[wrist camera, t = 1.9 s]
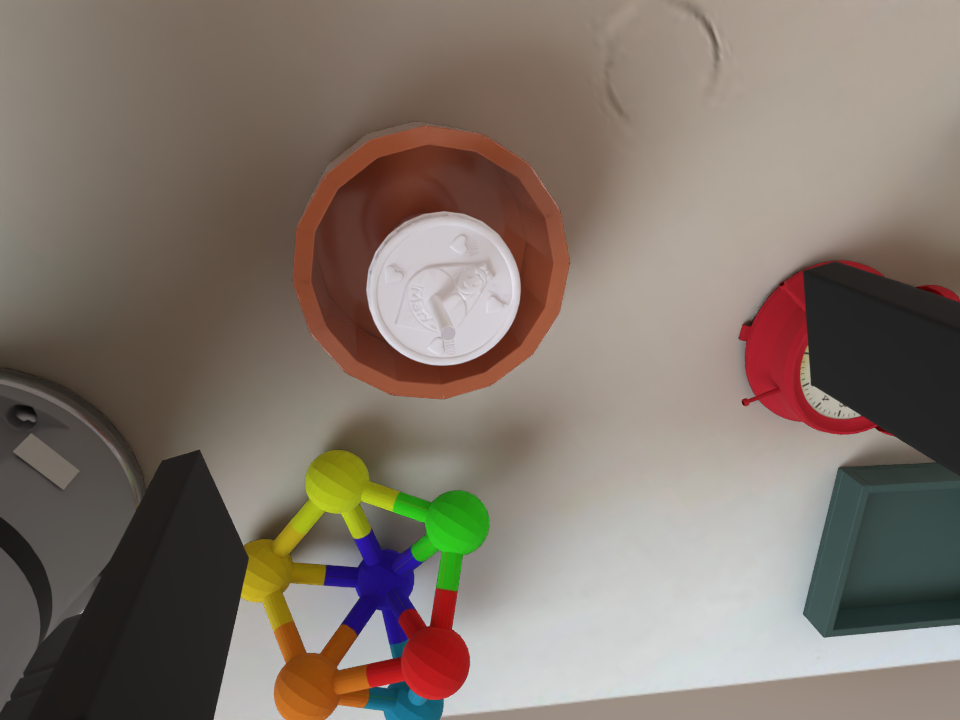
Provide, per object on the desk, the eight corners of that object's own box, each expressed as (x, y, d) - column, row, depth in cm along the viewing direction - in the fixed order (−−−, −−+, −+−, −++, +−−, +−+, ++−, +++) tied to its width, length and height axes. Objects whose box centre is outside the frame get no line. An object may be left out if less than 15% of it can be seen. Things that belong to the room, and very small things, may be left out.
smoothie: (338, 226, 37) (332, 296, 24) (445, 163, 36) (498, 198, 23) (402, 327, 39) (429, 439, 26) (502, 268, 39) (579, 352, 26)
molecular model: (249, 582, 47) (440, 710, 45) (152, 659, 38) (387, 825, 36) (345, 390, 44) (556, 520, 42) (264, 424, 34) (531, 592, 32)
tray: (802, 614, 52) (823, 637, 50) (838, 467, 48) (863, 485, 46) (979, 598, 55) (1007, 620, 52) (1027, 458, 51) (1060, 475, 48)
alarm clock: (790, 258, 38) (1063, 308, 38) (752, 240, 44) (989, 284, 44) (734, 433, 41) (986, 479, 41) (706, 394, 47) (927, 435, 47)
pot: (344, 383, 40) (343, 428, 34) (267, 158, 35) (252, 169, 30) (556, 322, 41) (588, 357, 35) (509, 96, 36) (538, 95, 31)
